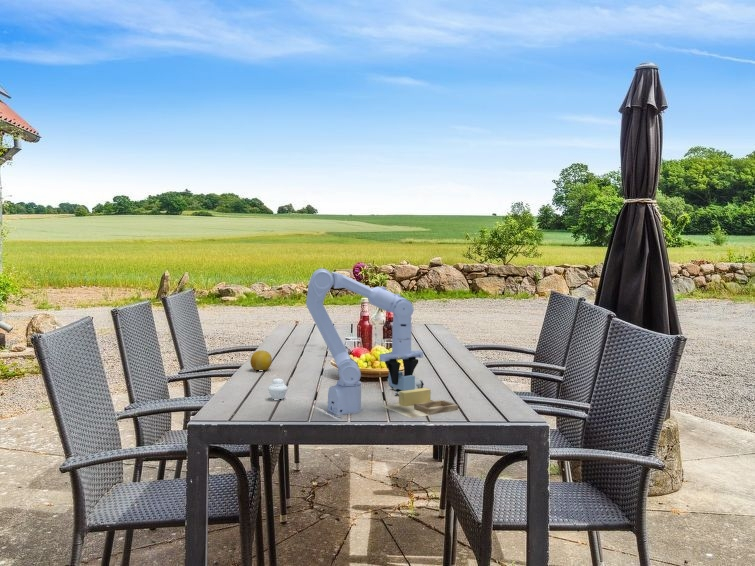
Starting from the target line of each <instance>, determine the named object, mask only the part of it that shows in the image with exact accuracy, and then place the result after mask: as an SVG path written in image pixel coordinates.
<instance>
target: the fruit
mask: <svg viewBox="0 0 755 566" xmlns="http://www.w3.org/2000/svg"><path fill="white" fill-rule="evenodd" d="M272 358H273V357H272V355H271V354H270V352H269V351H266V350H256V351H255V352H253V353H252V355H251V357H250V366H251V368H252V370H254V369H255V370H254V371H256V370H265V371H267V370H269V369H270V368H271V365H272V363H273V360H272Z"/></svg>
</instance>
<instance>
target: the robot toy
mask: <svg viewBox="0 0 755 566" xmlns="http://www.w3.org/2000/svg"><path fill="white" fill-rule="evenodd" d="M423 381H424V380H423V378H422V377H421V379H419V378H417V377H415V389H420V388H424V385H425V383H424V382H423ZM387 382H388V384H389V378H387ZM389 387H390V389H392V390H393V391H394V395H397V396H399V391H402V390H399V389H397V388H394V387H391V386H389Z"/></svg>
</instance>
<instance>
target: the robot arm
mask: <svg viewBox="0 0 755 566" xmlns="http://www.w3.org/2000/svg"><path fill="white" fill-rule="evenodd" d="M332 287H333V289H346V290H348V291H350V292H353V293H355V294H358V295H359V296H362V297H365V298H366V299H367V300H368V303H369V304H370V305H371V306H374V307H376V308H379V309H381V310H383V311H385V312H387V313H392V317H393V319H392V324H391V325H392V328H391V330H392V331H391V332H392V333H391V335H392V338H391V340H392V342H391V344H392V346H391V349H392V350H391V352H386V353H381V354H379V362H382V363H384V364H385V365H386V367H387V370H388V374H389V373H390V376H391V380H392V384H395V385H398V375H399V371H400V368H401V364H403V371H404V373H403V374H404V375H403V376H409V375H413V376H414V371H415V369H416V367H417V365H418V364H419V359H422V358H424V351H423V350H412V333H413V332H412V329H413V328H412V327H413V326H412V324H413V323H412V315H413V314H414V310H415V308H414V307H413V304H412V302H411V301H410V300H409V299H407V298H405V297H403V296H401V294H399V293H394V292H392V291H389V290H387V287H386V286H375V287H370V286H367V285H366V284H363V283H362V282H360V281H357V280H355V279H353V278H351V277H349V276H347V275H345V274H343V273H339V272H336V271H329V270H328V269H326V268H318V269H316V270H315V271H314V272H313V273H312V275H311V276H310V279H309V281H308V288H307V294H306V302H305V305H306V308H307V310H308V312H309V313H310V315H311V317H312V319H313V321H314V324H315V325H316V327H317V330H319V333H320V335H321V336H322V339H323V341H324V343H325V344H326V347H327V348H328V351H329V352H330V354H331V356H332V358H333V360H334V362H335V364H336V365H335V366H336V368H337V373H338V377H339V379H338V380H337V381H336V384H335V385H332V386H330V387H329V388H328V391H327V392H328V393H327V411H326V413H327V414H329V415H331V416H333V417H336V418H338V419H342V417H341V415H347V414H348V415H349V414H357V413H360V412H361V411H362V381H361V380H360V379H361V377H362V373H361V369H360V367H359V364H358V362H357V361H355V360H354V359H353V358H352V357H351V356H350V353H349V352H348V351H347V349H346V347H345V344H344V342H343V340H342V338H341V337H340V334H339V333H338V331H337V328H336V327H335V325H334V323H333V321H332V319H331V318H330V316H329V313H328V311H327V310H326V307H325V306H324V301H325V298H326V295H327V294H328V293H329V291H330V290H331V288H332ZM417 358H419V359H417ZM399 360H402V363H401V362H399ZM339 415H340V416H339Z"/></svg>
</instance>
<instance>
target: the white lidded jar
mask: <svg viewBox="0 0 755 566" xmlns="http://www.w3.org/2000/svg"><path fill="white" fill-rule="evenodd" d="M287 392H288V386H287V385H286V384H285V383H284V380H283V379H282V378H279V377H277V378H273V380H272V381H271V384H270V385H269V386H268V393H269V395H270V397H271V399H272V400H273V399H278V400H277V401H280V400H279V399H282V400H284V398H285V396H286V394H287Z"/></svg>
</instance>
